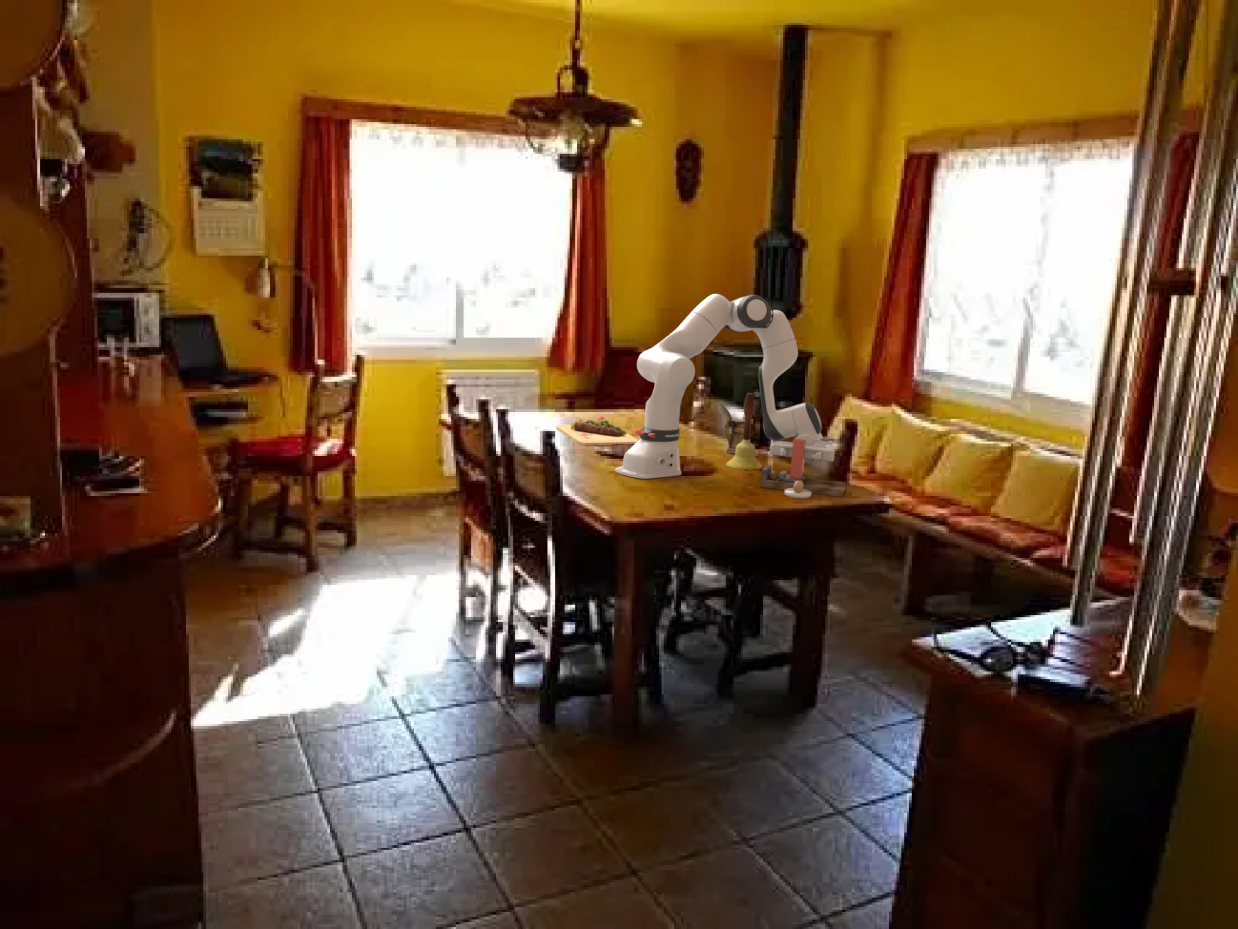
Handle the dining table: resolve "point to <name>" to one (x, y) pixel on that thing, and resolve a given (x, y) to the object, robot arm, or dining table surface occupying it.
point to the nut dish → (797, 495)
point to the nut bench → (813, 485)
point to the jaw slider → (795, 463)
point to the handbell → (746, 441)
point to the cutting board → (596, 433)
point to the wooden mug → (736, 431)
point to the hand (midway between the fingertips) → (798, 455)
